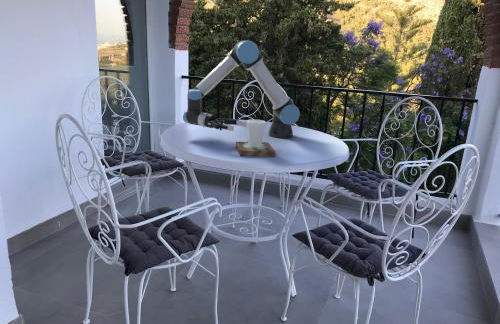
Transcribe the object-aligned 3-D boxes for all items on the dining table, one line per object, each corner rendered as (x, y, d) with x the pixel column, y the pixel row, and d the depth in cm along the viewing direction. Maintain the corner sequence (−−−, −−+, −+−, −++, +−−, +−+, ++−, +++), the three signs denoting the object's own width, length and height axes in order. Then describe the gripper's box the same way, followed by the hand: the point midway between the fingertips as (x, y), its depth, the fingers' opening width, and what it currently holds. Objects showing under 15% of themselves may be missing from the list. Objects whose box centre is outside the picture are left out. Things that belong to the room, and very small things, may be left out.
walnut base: (268, 147, 226) (268, 141, 225) (274, 156, 209) (275, 150, 208) (235, 147, 223) (235, 141, 222) (239, 156, 206) (240, 150, 205)
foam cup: (261, 148, 210) (263, 123, 206) (244, 146, 211) (245, 122, 208) (265, 144, 219) (266, 120, 215) (248, 142, 220) (249, 118, 216)
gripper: (220, 123, 239) (251, 129, 228) (193, 130, 218) (226, 137, 208) (221, 111, 236) (252, 116, 226) (193, 116, 216) (227, 122, 206)
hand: (240, 126), depth 217 cm, fingers open, 13 cm apart
